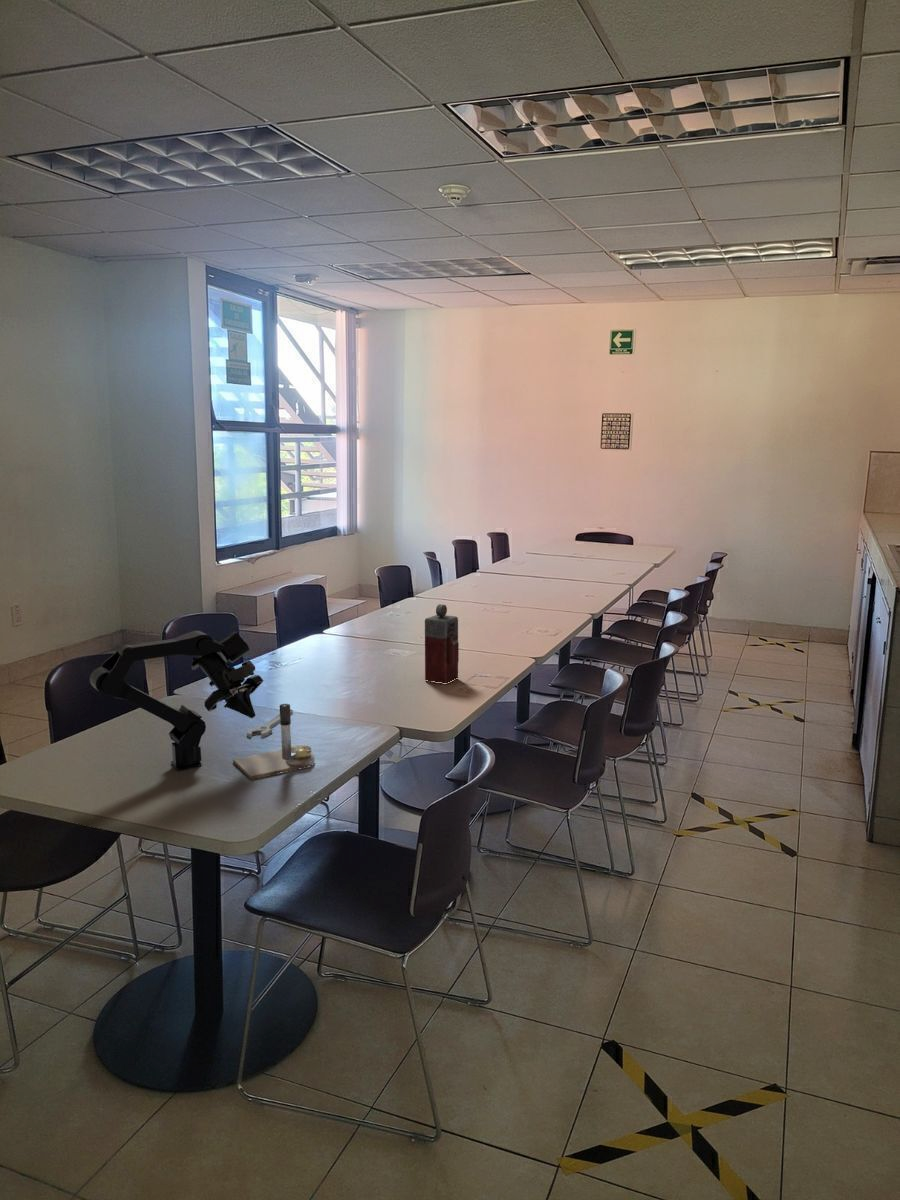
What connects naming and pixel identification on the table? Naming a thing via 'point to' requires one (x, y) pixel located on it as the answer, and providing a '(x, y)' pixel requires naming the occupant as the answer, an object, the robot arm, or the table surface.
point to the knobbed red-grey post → (441, 646)
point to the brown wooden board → (270, 764)
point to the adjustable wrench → (265, 727)
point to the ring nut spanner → (287, 750)
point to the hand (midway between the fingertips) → (253, 716)
